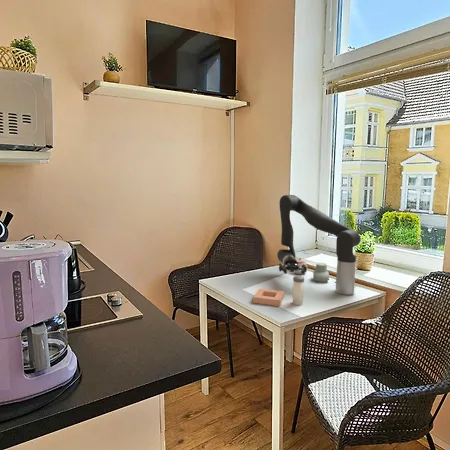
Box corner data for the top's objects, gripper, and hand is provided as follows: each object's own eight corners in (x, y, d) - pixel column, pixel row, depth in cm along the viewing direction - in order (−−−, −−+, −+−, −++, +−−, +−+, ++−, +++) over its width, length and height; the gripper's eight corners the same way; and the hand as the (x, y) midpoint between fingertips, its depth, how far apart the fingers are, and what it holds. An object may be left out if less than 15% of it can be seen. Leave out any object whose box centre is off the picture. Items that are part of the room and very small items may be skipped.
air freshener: (312, 277, 220) (313, 261, 218) (327, 278, 218) (328, 261, 217) (313, 283, 209) (314, 266, 207) (328, 284, 208) (329, 267, 206)
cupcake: (289, 271, 230) (290, 256, 229) (303, 270, 232) (304, 255, 231) (296, 276, 221) (296, 260, 220) (310, 275, 224) (311, 259, 222)
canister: (303, 302, 180) (304, 276, 178) (302, 305, 175) (303, 279, 173) (292, 300, 182) (293, 275, 180) (291, 304, 177) (292, 278, 175)
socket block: (284, 296, 187) (284, 291, 186) (280, 306, 175) (280, 300, 174) (258, 294, 191) (259, 288, 190) (253, 303, 178) (253, 297, 178)
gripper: (277, 256, 203) (280, 264, 187) (303, 257, 203) (309, 265, 187) (276, 269, 205) (280, 278, 189) (302, 270, 204) (308, 279, 188)
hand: (294, 272), depth 188 cm, fingers open, 8 cm apart
